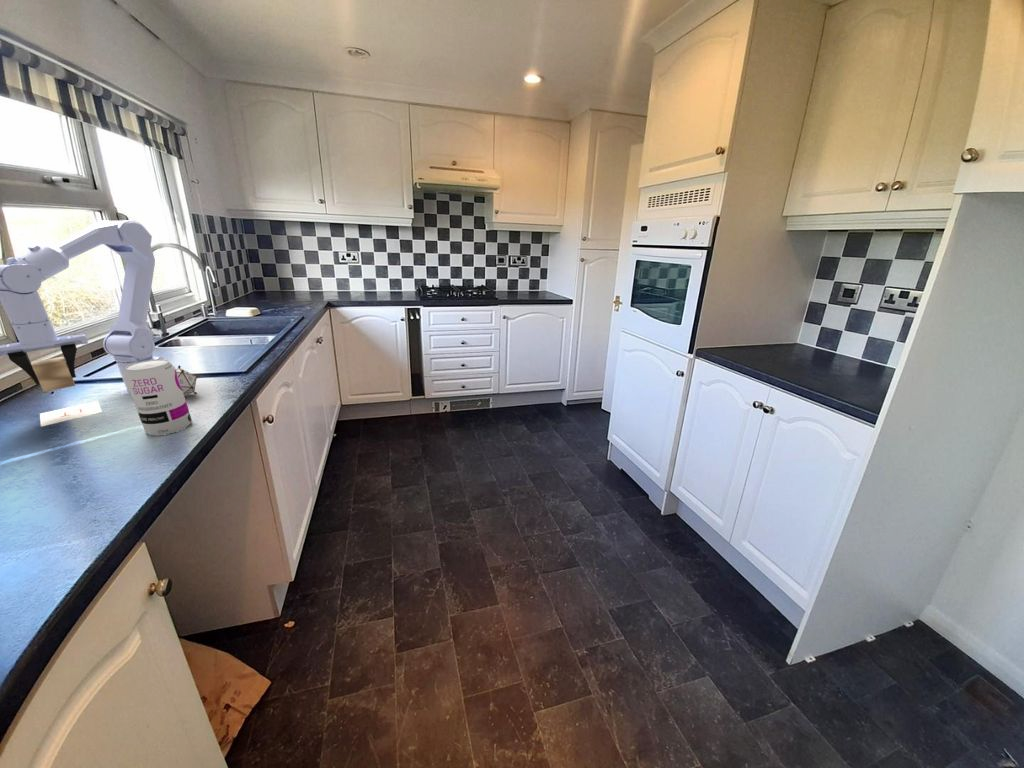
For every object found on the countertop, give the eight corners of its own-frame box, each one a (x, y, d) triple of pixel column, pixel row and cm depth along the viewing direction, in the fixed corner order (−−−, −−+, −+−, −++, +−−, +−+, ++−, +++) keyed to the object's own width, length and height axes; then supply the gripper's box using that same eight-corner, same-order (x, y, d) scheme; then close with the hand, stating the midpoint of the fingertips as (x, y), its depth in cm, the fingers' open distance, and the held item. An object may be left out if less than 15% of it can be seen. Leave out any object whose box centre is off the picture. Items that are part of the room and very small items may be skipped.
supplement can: (186, 416, 96) (166, 356, 91) (197, 427, 91) (177, 363, 86) (142, 429, 90) (117, 365, 85) (151, 441, 85) (126, 373, 80)
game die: (179, 413, 107) (138, 391, 100) (189, 391, 113) (151, 369, 106) (205, 397, 106) (166, 373, 99) (214, 375, 112) (177, 352, 105)
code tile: (98, 403, 104) (97, 400, 104) (103, 414, 98) (102, 411, 97) (40, 415, 97) (39, 413, 97) (41, 428, 91) (40, 426, 91)
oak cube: (73, 380, 98) (63, 356, 96) (75, 385, 95) (64, 361, 93) (43, 386, 94) (31, 361, 92) (43, 391, 91) (32, 366, 89)
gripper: (76, 314, 97) (97, 368, 102) (-21, 324, 87) (9, 384, 92) (78, 318, 92) (101, 374, 97) (-23, 330, 82) (8, 392, 87)
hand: (56, 379), depth 94 cm, fingers closed on oak cube, 5 cm apart
